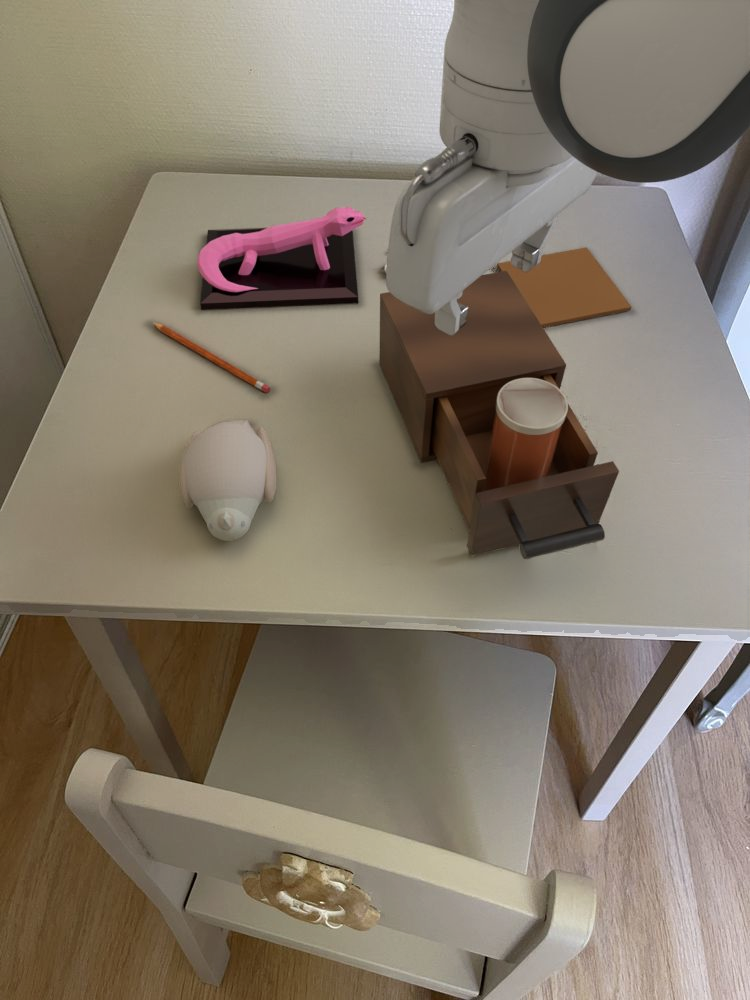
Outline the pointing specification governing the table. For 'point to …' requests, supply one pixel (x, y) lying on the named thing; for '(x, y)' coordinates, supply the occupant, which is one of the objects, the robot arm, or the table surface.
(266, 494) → the decorative bird
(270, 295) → the dark display base
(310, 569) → the table surface
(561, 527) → the drawer
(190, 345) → the pencil
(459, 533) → the table surface
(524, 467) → the tumbler
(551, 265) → the mat
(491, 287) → the cabinet
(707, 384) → the table surface
